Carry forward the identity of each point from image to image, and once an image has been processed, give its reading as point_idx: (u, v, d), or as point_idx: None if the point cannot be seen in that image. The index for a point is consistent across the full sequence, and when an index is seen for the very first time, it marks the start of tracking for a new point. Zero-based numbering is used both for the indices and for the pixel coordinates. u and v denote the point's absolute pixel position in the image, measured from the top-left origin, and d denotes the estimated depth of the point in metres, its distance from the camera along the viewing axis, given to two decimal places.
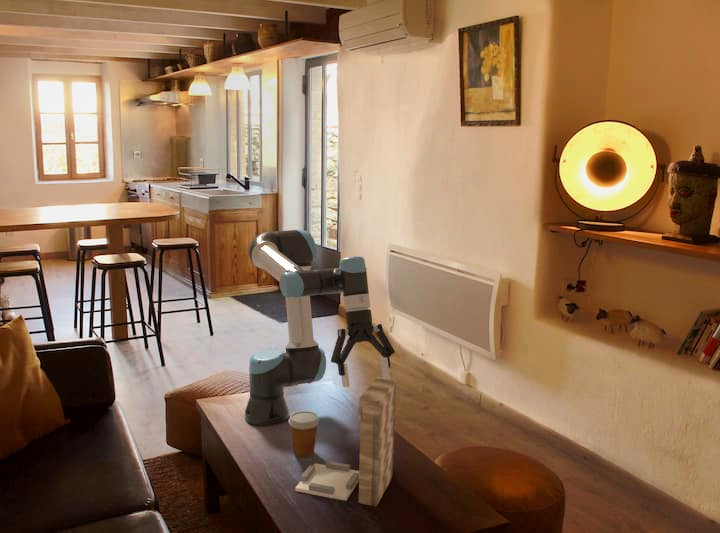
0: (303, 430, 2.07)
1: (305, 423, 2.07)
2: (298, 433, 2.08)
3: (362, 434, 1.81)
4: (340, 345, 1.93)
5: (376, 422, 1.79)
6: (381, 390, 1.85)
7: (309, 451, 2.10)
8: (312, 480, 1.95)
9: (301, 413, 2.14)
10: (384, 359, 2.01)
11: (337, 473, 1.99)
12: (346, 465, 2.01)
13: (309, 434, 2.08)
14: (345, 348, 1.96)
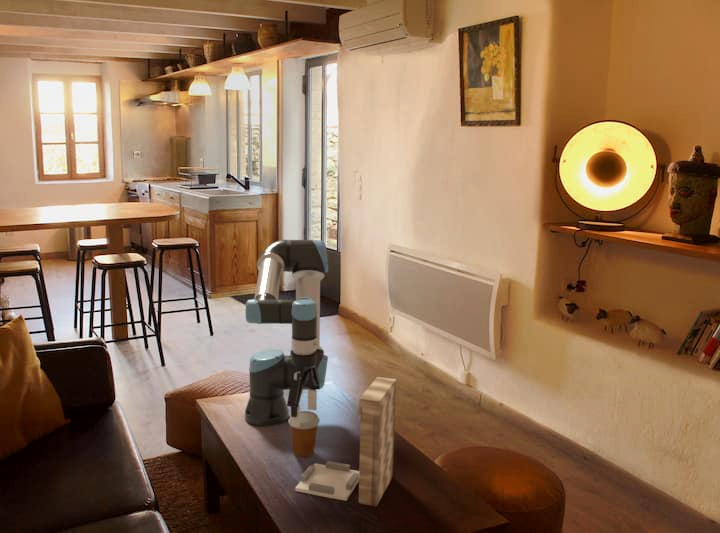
0: (303, 430, 2.07)
1: (305, 423, 2.07)
2: (298, 433, 2.08)
3: (362, 434, 1.81)
4: (297, 390, 2.01)
5: (376, 422, 1.79)
6: (381, 390, 1.85)
7: (309, 451, 2.10)
8: (312, 480, 1.95)
9: (301, 413, 2.14)
10: (314, 392, 2.15)
11: (337, 473, 1.99)
12: (346, 465, 2.01)
13: (309, 434, 2.08)
14: None
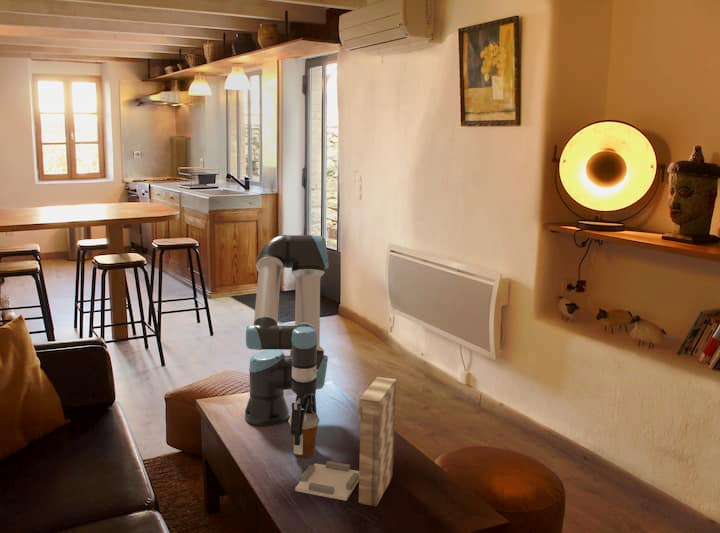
0: (303, 430, 2.07)
1: (305, 423, 2.07)
2: None
3: (362, 434, 1.81)
4: (299, 419, 2.04)
5: (376, 422, 1.79)
6: (381, 390, 1.85)
7: (309, 451, 2.10)
8: (312, 480, 1.95)
9: None
10: None
11: (337, 473, 1.99)
12: (346, 465, 2.01)
13: (309, 434, 2.08)
14: None
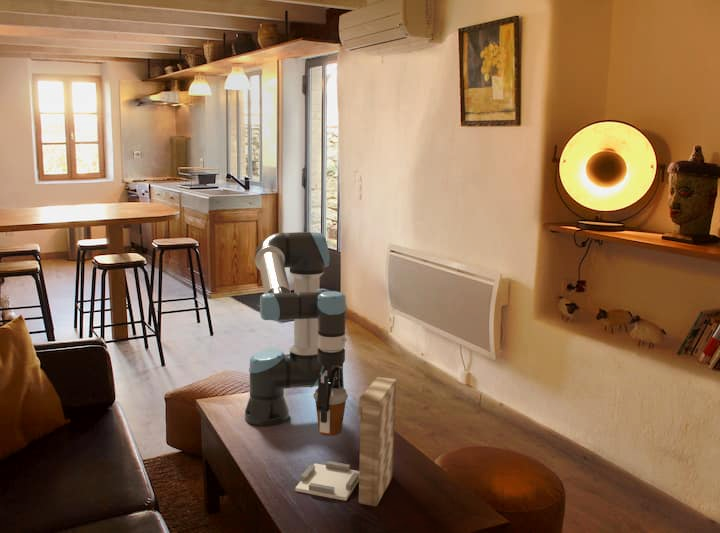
0: (331, 406, 1.87)
1: (333, 398, 1.86)
2: None
3: (362, 434, 1.81)
4: (326, 393, 1.83)
5: (376, 422, 1.79)
6: (381, 390, 1.85)
7: (336, 429, 1.90)
8: (312, 480, 1.95)
9: None
10: None
11: (337, 473, 1.99)
12: (346, 465, 2.01)
13: (337, 410, 1.88)
14: None
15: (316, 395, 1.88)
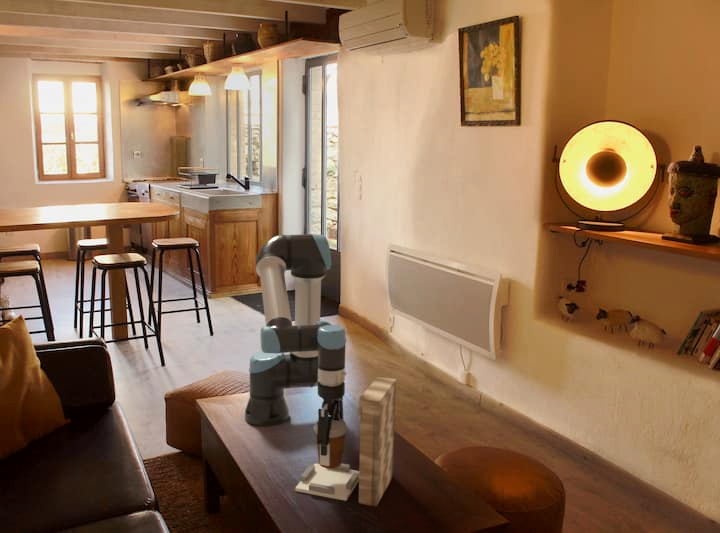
0: (331, 439, 1.88)
1: (333, 431, 1.88)
2: None
3: (362, 434, 1.81)
4: (326, 427, 1.85)
5: (376, 422, 1.79)
6: (381, 390, 1.85)
7: (336, 462, 1.91)
8: (312, 480, 1.95)
9: None
10: None
11: (337, 473, 1.99)
12: (346, 465, 2.01)
13: (337, 443, 1.89)
14: None
15: (316, 428, 1.90)
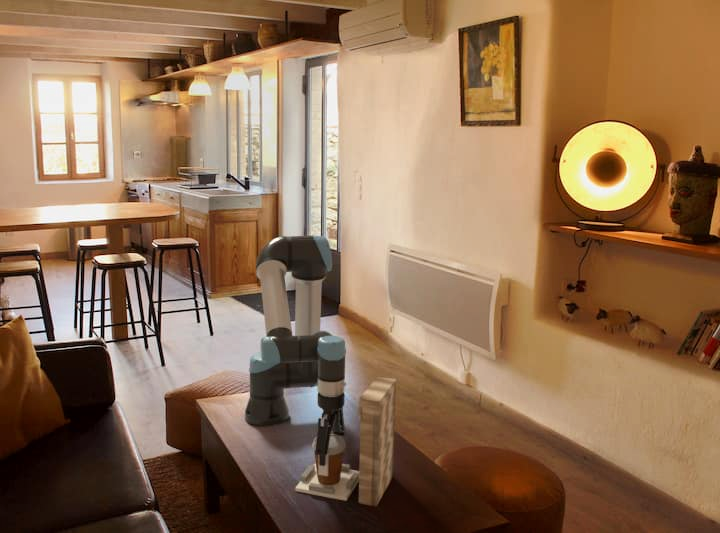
0: (329, 456, 1.89)
1: (331, 448, 1.89)
2: None
3: (362, 434, 1.81)
4: (325, 437, 1.85)
5: (376, 422, 1.79)
6: (381, 390, 1.85)
7: (335, 478, 1.92)
8: (312, 480, 1.95)
9: None
10: None
11: None
12: (346, 465, 2.01)
13: (336, 460, 1.90)
14: None
15: (315, 445, 1.91)
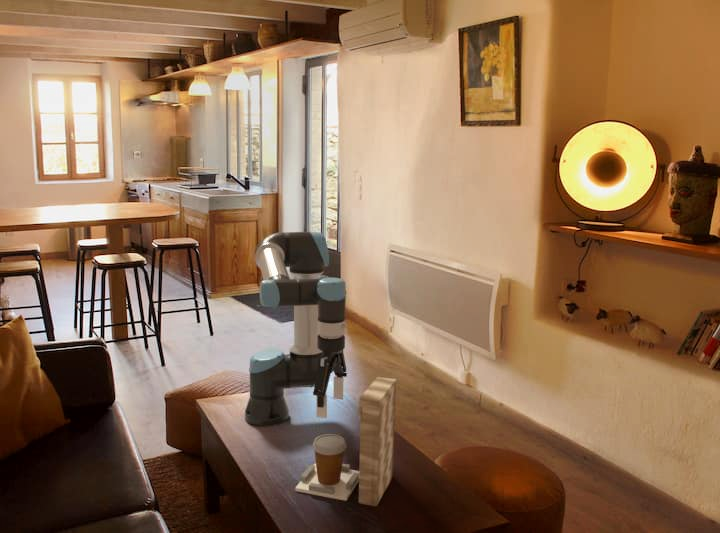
0: (329, 456, 1.89)
1: (331, 448, 1.89)
2: (324, 459, 1.90)
3: (362, 434, 1.81)
4: (325, 377, 1.81)
5: (376, 422, 1.79)
6: (381, 390, 1.85)
7: (335, 479, 1.92)
8: (312, 480, 1.95)
9: (326, 436, 1.96)
10: (341, 379, 1.96)
11: None
12: (346, 465, 2.01)
13: (336, 460, 1.90)
14: None
15: (315, 445, 1.91)
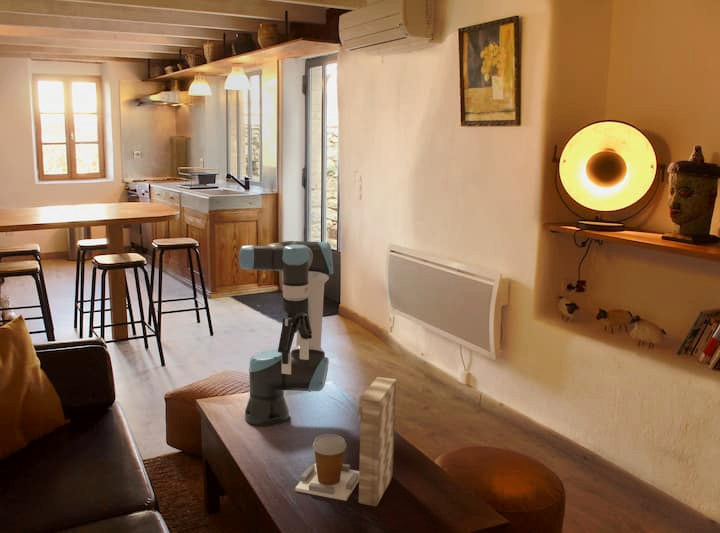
0: (329, 456, 1.89)
1: (331, 448, 1.89)
2: (324, 459, 1.90)
3: (362, 434, 1.81)
4: (288, 336, 1.96)
5: (376, 422, 1.79)
6: (381, 390, 1.85)
7: (335, 479, 1.92)
8: (312, 480, 1.95)
9: (326, 436, 1.96)
10: (306, 341, 2.11)
11: None
12: (346, 465, 2.01)
13: (336, 461, 1.90)
14: None
15: (315, 445, 1.91)
